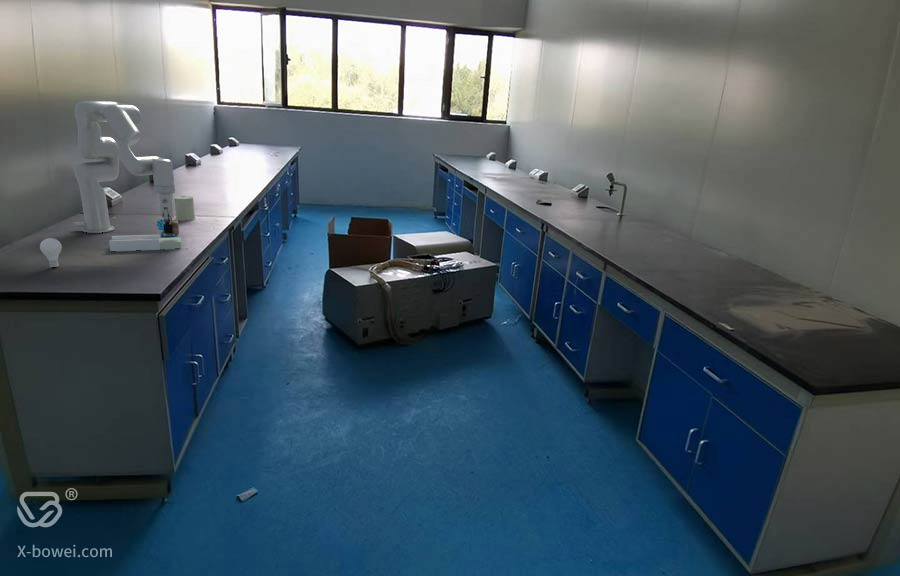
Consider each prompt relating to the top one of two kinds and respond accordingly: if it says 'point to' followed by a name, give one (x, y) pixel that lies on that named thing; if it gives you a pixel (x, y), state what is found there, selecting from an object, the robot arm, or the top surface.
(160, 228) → the gear
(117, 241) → the trough
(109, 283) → the top surface
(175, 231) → the block
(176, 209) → the can
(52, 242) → the lightbulb
